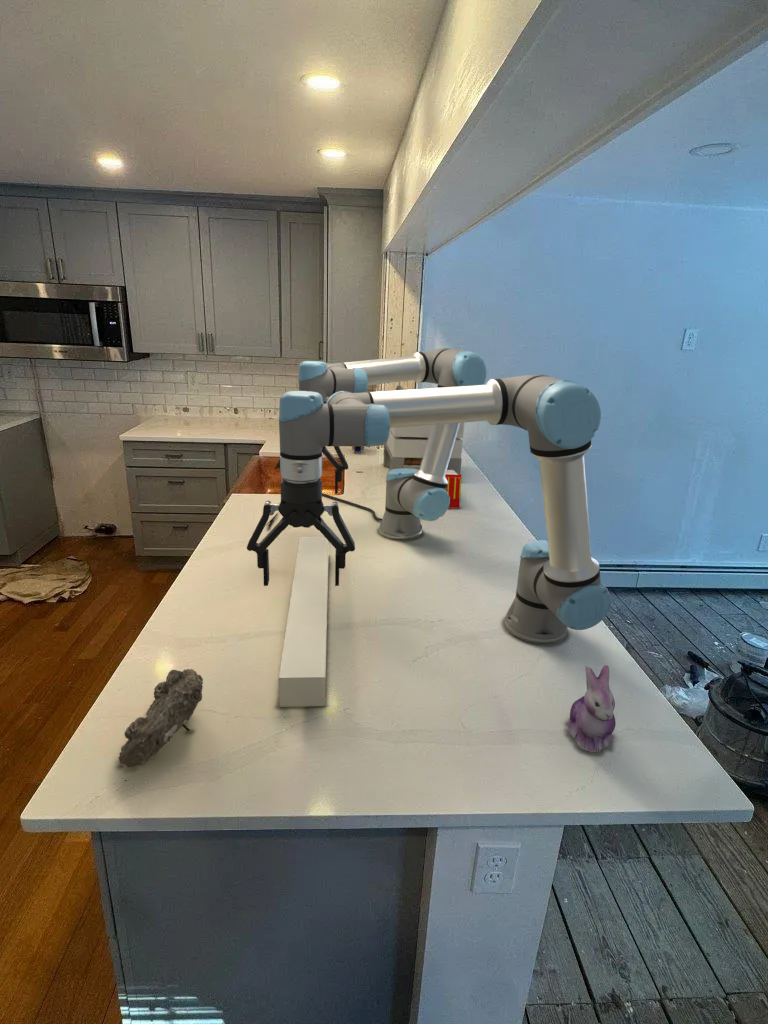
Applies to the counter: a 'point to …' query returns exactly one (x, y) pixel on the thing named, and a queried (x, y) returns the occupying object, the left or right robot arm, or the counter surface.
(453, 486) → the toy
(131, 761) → the fossil
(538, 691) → the counter surface
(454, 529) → the counter surface
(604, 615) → the right robot arm
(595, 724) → the figurine
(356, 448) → the figurine character
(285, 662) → the wide beam
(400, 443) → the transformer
